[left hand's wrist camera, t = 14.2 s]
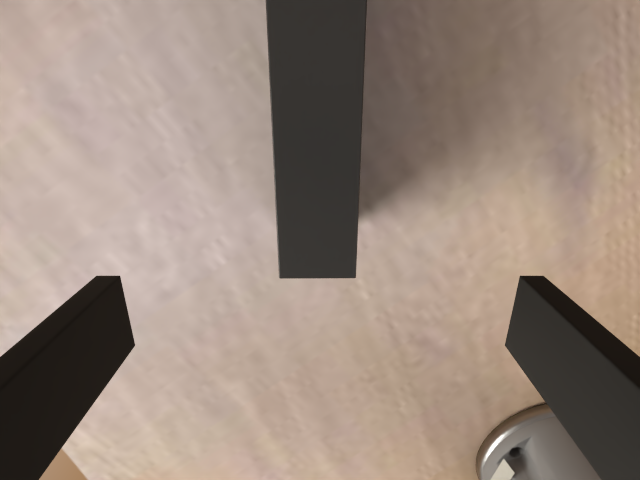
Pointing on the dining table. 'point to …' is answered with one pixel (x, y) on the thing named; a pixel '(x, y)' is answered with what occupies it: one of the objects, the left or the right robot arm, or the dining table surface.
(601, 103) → the dining table surface
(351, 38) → the bar
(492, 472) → the left robot arm
